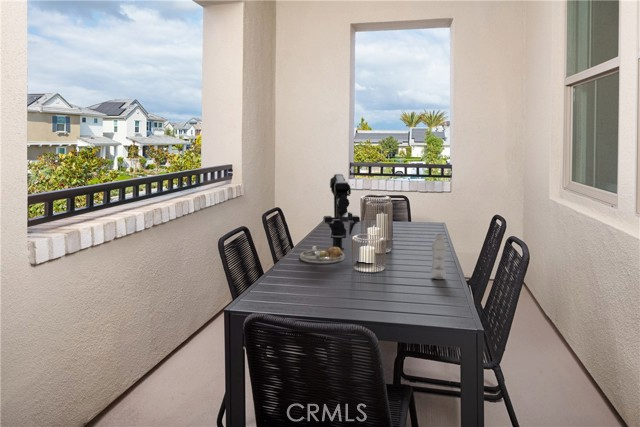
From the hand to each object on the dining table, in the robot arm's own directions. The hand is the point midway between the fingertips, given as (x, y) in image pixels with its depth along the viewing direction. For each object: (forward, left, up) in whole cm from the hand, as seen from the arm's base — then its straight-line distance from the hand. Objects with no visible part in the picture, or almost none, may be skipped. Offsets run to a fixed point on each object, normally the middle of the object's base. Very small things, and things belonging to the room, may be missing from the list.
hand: (341, 235), depth 255 cm
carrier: (+2, -11, -12) cm, 16 cm away
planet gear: (+2, -4, -11) cm, 11 cm away
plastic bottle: (+49, +33, -12) cm, 61 cm away
